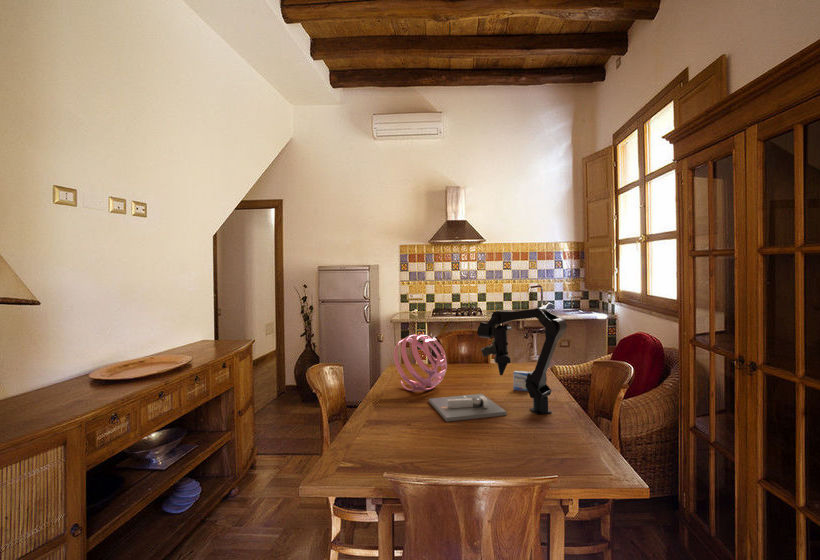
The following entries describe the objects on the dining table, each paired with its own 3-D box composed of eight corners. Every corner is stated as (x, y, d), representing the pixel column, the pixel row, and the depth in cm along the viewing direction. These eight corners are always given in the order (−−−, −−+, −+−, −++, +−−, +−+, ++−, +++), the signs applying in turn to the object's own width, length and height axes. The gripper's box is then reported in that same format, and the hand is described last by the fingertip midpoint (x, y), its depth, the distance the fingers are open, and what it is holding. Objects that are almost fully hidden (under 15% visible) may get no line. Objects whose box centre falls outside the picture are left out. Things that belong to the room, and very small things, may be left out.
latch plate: (506, 415, 169) (506, 411, 169) (446, 421, 164) (446, 417, 164) (481, 396, 194) (481, 393, 194) (428, 402, 188) (428, 398, 188)
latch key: (483, 402, 180) (483, 395, 180) (488, 408, 173) (488, 400, 173) (446, 404, 178) (446, 397, 178) (449, 410, 171) (449, 402, 171)
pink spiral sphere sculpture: (372, 348, 214) (408, 320, 200) (411, 353, 233) (446, 328, 219) (387, 401, 199) (426, 375, 185) (427, 401, 218) (465, 378, 204)
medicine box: (513, 390, 204) (512, 372, 203) (515, 387, 208) (515, 369, 207) (530, 391, 200) (529, 373, 200) (532, 389, 204) (531, 371, 204)
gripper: (480, 335, 194) (481, 369, 195) (482, 343, 176) (483, 380, 176) (505, 335, 193) (506, 370, 194) (510, 343, 175) (510, 381, 175)
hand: (501, 375), depth 185 cm, fingers closed
